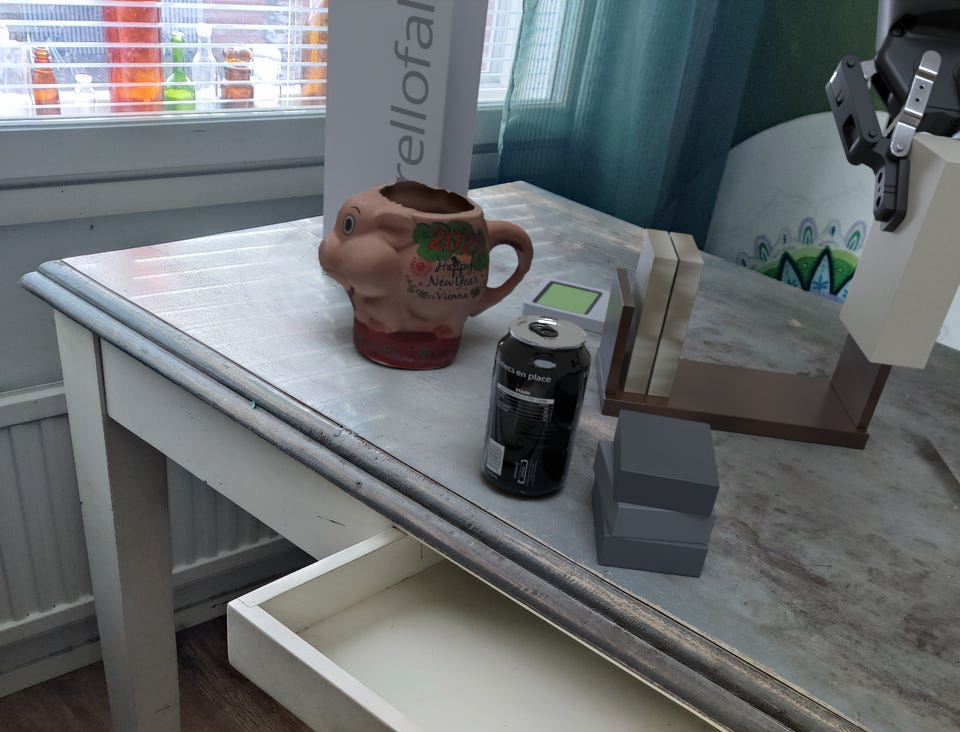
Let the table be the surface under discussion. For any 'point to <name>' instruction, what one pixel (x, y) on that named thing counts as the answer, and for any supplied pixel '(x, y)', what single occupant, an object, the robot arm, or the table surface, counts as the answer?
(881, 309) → the tall beige pillar
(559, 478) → the beverage can
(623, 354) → the book rack
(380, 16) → the white lettered box
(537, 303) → the handheld gaming console
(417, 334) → the pig-shaped ceramic mug
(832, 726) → the table surface
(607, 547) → the stacked grey blocks
